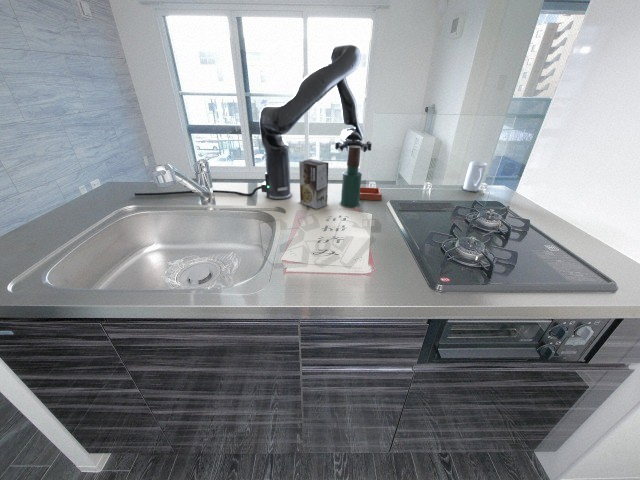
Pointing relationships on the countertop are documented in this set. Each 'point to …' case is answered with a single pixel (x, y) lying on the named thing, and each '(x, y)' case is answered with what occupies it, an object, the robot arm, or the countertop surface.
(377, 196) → the tray
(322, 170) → the coffee box
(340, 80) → the robot arm
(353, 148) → the stopper
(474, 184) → the mug
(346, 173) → the flask
